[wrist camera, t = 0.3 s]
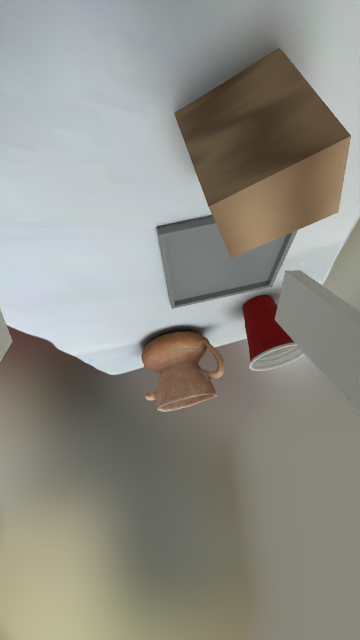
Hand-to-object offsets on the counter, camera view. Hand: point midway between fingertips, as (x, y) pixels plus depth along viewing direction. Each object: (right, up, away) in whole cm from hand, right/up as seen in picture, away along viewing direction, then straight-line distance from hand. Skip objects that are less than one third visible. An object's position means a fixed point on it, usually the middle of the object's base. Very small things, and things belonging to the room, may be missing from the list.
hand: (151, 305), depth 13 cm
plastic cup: (+16, +3, +41) cm, 44 cm away
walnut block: (+6, +15, +9) cm, 19 cm away
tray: (+8, +8, +26) cm, 28 cm away
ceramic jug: (0, -5, +48) cm, 48 cm away
